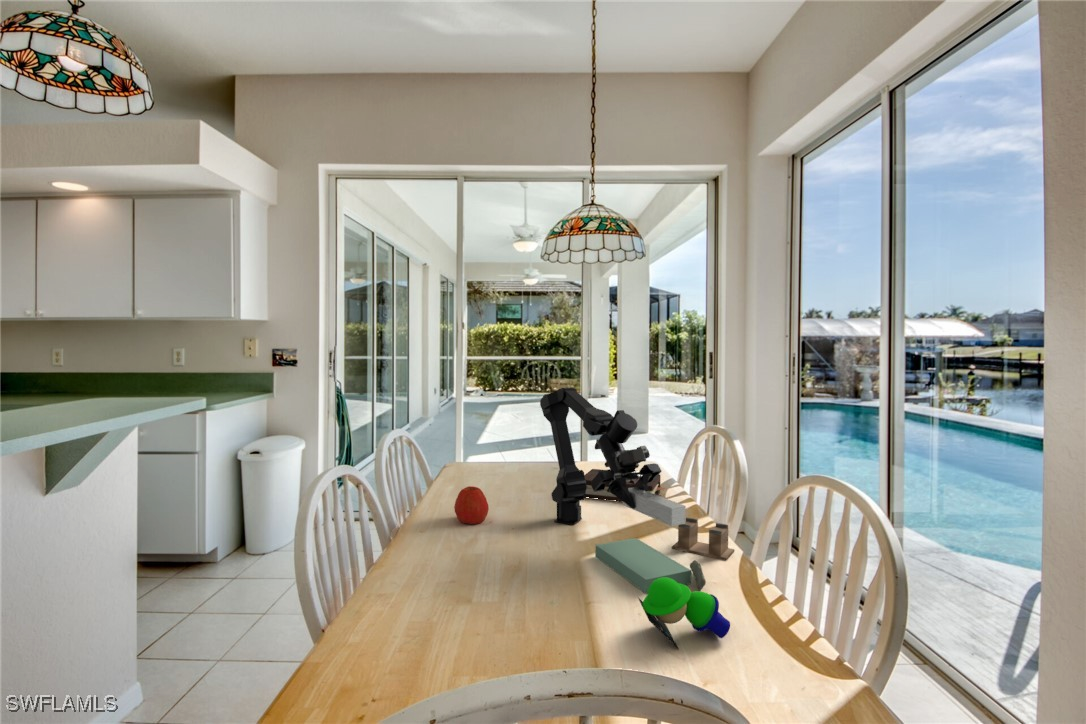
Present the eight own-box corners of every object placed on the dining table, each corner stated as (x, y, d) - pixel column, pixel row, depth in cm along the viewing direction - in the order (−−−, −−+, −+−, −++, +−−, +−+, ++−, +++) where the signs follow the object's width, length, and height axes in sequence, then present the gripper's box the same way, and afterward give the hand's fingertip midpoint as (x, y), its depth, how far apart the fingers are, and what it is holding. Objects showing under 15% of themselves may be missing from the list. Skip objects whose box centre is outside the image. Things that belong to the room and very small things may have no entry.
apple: (451, 517, 169) (451, 483, 168) (484, 514, 172) (484, 481, 171) (457, 528, 159) (457, 492, 159) (492, 524, 162) (491, 489, 162)
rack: (672, 548, 144) (672, 522, 143) (681, 540, 149) (681, 515, 149) (726, 560, 136) (726, 533, 135) (734, 551, 141) (734, 525, 141)
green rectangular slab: (595, 556, 138) (595, 544, 138) (636, 549, 143) (636, 538, 143) (645, 593, 118) (645, 579, 118) (690, 583, 123) (691, 570, 123)
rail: (622, 504, 138) (622, 489, 138) (635, 502, 140) (635, 487, 140) (671, 526, 123) (671, 508, 122) (685, 523, 124) (685, 505, 124)
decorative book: (587, 465, 208) (667, 472, 197) (587, 485, 208) (667, 493, 198) (571, 477, 190) (659, 485, 179) (571, 498, 190) (659, 508, 180)
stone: (708, 595, 117) (708, 572, 117) (698, 595, 118) (699, 571, 117) (696, 570, 130) (696, 549, 130) (687, 570, 130) (687, 549, 130)
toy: (684, 642, 106) (630, 590, 105) (724, 602, 106) (670, 549, 105) (701, 673, 97) (642, 615, 96) (745, 629, 97) (686, 570, 96)
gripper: (597, 438, 134) (624, 494, 125) (657, 432, 143) (686, 484, 134) (580, 464, 142) (604, 518, 132) (637, 456, 151) (664, 507, 141)
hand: (641, 506), depth 135 cm, fingers closed on rail, 4 cm apart
